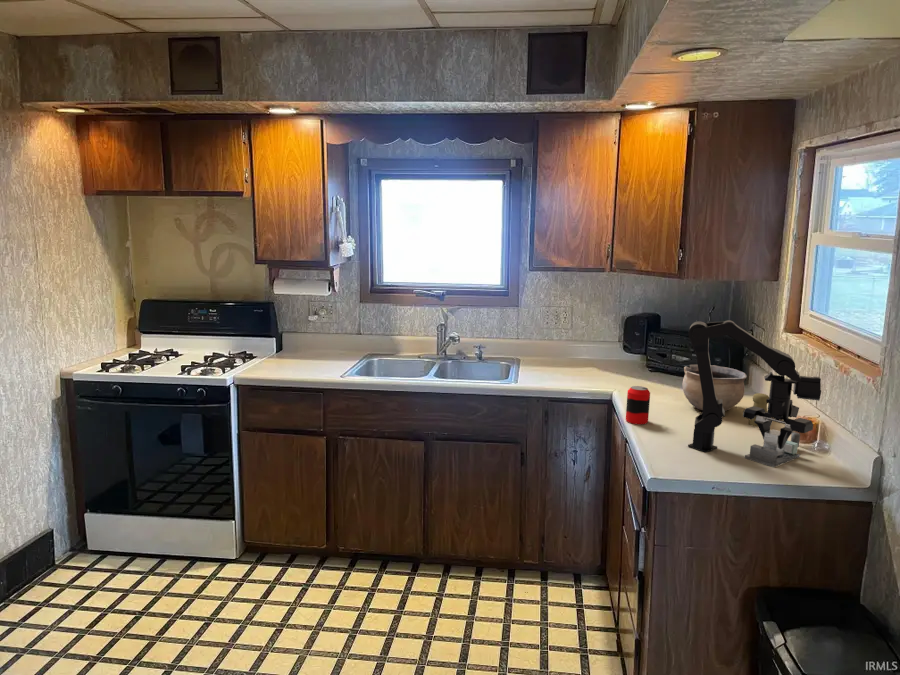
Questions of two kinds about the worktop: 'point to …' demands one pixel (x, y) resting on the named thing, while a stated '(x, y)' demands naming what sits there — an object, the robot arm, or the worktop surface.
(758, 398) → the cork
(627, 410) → the soda can
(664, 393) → the worktop surface
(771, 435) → the steel block
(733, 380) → the ceramic bowl
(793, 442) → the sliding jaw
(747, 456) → the base
